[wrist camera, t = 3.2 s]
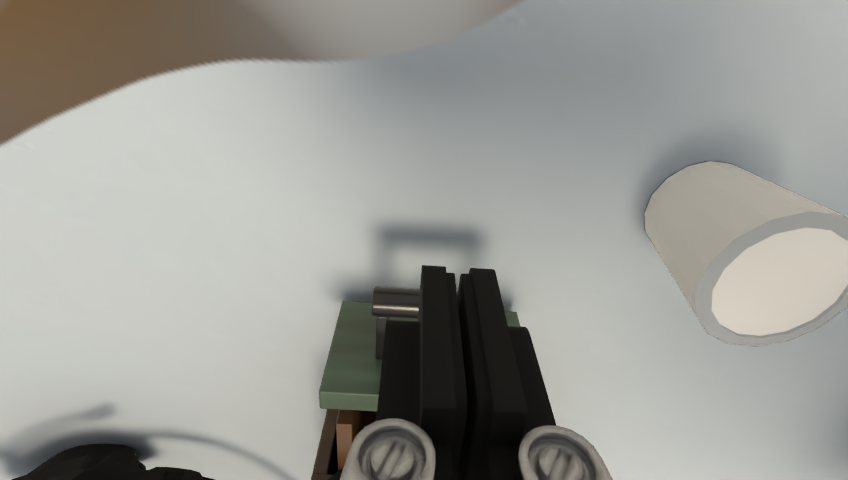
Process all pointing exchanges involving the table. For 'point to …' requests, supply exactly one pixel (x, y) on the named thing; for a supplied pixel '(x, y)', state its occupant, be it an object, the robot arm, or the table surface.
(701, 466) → the table surface
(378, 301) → the drawer
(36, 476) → the headset
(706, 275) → the white cup
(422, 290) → the robot arm
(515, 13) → the table surface
